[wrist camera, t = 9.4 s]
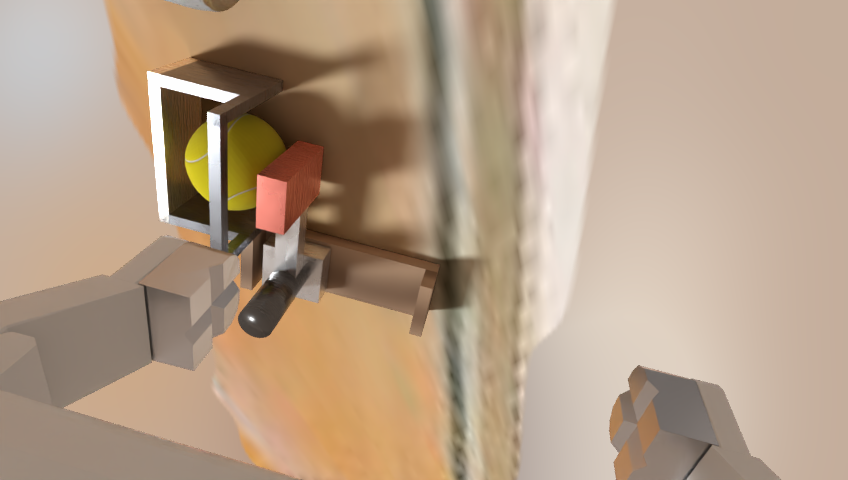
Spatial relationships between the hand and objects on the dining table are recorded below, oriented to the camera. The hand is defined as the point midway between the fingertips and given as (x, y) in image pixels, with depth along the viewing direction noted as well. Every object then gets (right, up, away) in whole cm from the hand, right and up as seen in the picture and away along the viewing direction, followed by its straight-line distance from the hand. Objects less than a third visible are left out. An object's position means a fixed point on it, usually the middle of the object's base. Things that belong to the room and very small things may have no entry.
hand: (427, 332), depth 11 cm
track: (-7, 0, +35) cm, 36 cm away
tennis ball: (-13, +9, +31) cm, 35 cm away
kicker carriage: (-10, +4, +32) cm, 34 cm away
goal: (-15, +10, +31) cm, 36 cm away
